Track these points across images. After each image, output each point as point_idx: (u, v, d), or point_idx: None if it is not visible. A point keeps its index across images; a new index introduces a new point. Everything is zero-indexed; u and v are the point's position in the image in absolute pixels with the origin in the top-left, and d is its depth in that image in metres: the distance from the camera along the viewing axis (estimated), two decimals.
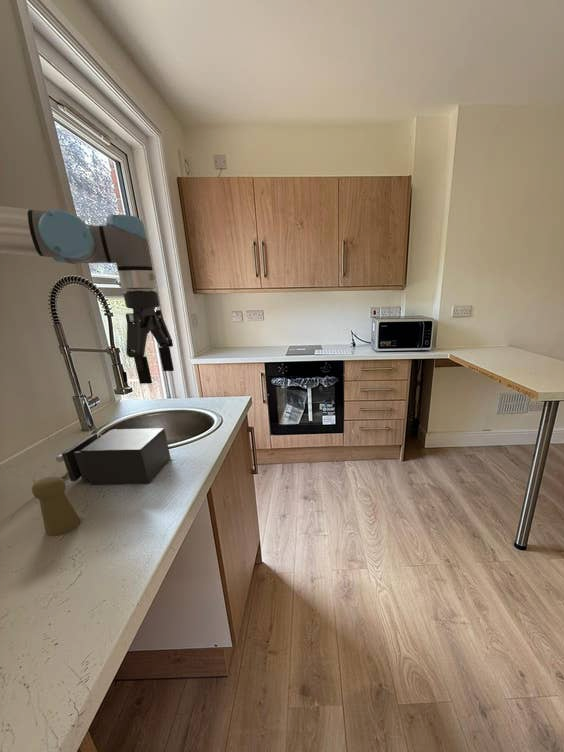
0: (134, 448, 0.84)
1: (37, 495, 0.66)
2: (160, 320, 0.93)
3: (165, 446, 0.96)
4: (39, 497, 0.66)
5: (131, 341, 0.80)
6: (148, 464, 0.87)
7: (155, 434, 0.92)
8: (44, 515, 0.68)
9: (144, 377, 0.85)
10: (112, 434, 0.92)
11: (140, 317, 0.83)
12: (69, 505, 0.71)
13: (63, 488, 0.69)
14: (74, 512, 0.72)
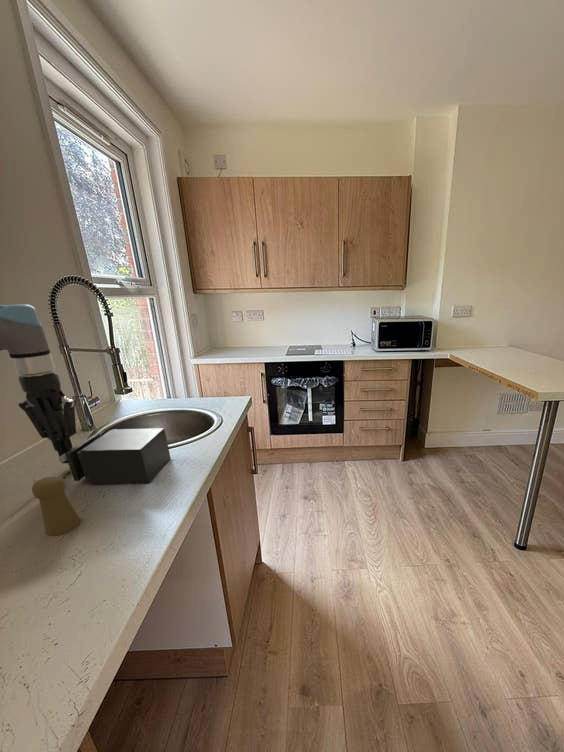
0: (134, 448, 0.84)
1: (37, 495, 0.66)
2: (35, 408, 0.87)
3: (165, 446, 0.96)
4: (39, 497, 0.66)
5: (72, 424, 0.88)
6: (148, 464, 0.87)
7: (155, 434, 0.92)
8: (44, 515, 0.68)
9: None
10: (112, 434, 0.92)
11: None
12: (69, 505, 0.71)
13: (63, 488, 0.69)
14: (74, 511, 0.72)
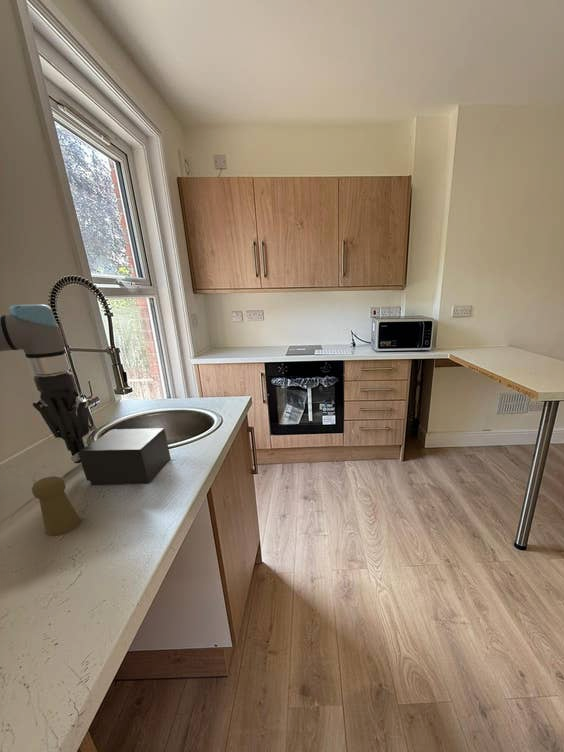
0: (134, 448, 0.84)
1: (37, 495, 0.66)
2: (49, 407, 0.87)
3: (165, 446, 0.96)
4: (39, 497, 0.66)
5: (85, 425, 0.88)
6: (148, 464, 0.87)
7: (155, 434, 0.92)
8: (44, 515, 0.68)
9: None
10: (112, 434, 0.92)
11: None
12: (69, 505, 0.71)
13: (63, 488, 0.69)
14: (74, 512, 0.72)
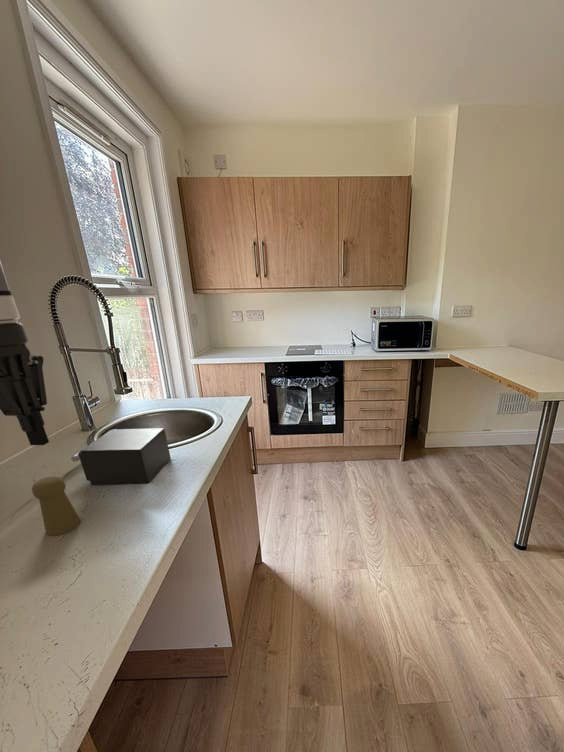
0: (134, 448, 0.84)
1: (37, 495, 0.66)
2: None
3: (165, 446, 0.96)
4: (39, 497, 0.66)
5: None
6: (148, 464, 0.87)
7: (155, 434, 0.92)
8: (44, 515, 0.68)
9: None
10: (112, 434, 0.92)
11: None
12: (69, 505, 0.71)
13: (63, 488, 0.69)
14: (74, 512, 0.72)
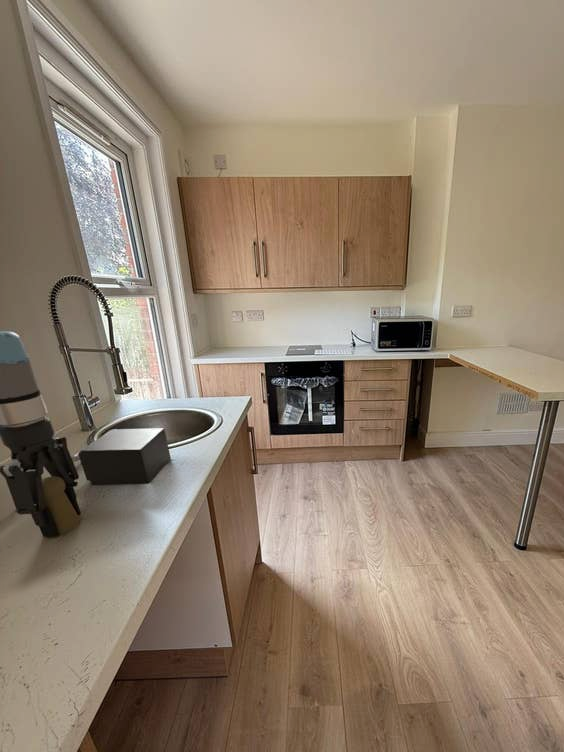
0: (134, 448, 0.84)
1: None
2: None
3: (165, 446, 0.96)
4: None
5: None
6: (148, 464, 0.87)
7: (155, 434, 0.92)
8: None
9: None
10: (112, 434, 0.92)
11: None
12: (69, 505, 0.71)
13: (63, 488, 0.69)
14: (74, 511, 0.72)
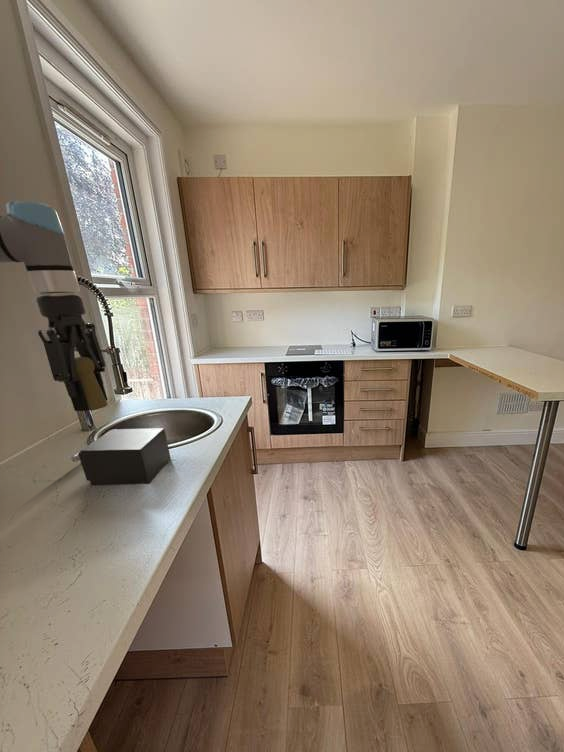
0: (134, 448, 0.84)
1: None
2: None
3: (165, 446, 0.96)
4: None
5: None
6: (148, 464, 0.87)
7: (155, 434, 0.92)
8: None
9: None
10: (112, 434, 0.92)
11: None
12: (98, 385, 0.77)
13: (93, 367, 0.75)
14: (102, 393, 0.78)
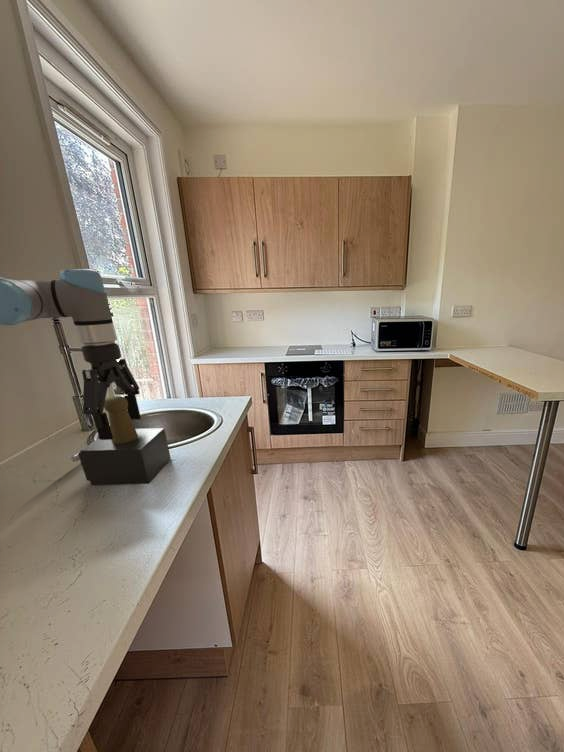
0: (134, 448, 0.84)
1: (109, 408, 0.84)
2: None
3: (165, 446, 0.96)
4: (110, 410, 0.84)
5: None
6: (148, 464, 0.87)
7: (155, 434, 0.92)
8: (112, 426, 0.86)
9: None
10: None
11: None
12: (130, 420, 0.88)
13: (127, 405, 0.86)
14: (133, 426, 0.89)
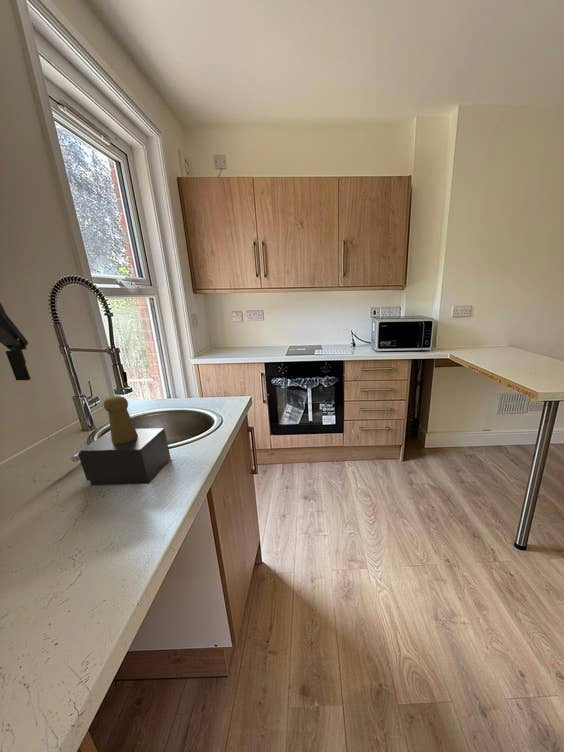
0: (134, 448, 0.84)
1: (109, 408, 0.84)
2: None
3: (165, 446, 0.96)
4: (110, 410, 0.84)
5: None
6: (148, 464, 0.87)
7: (155, 434, 0.92)
8: (112, 426, 0.86)
9: None
10: None
11: None
12: (130, 420, 0.88)
13: (127, 405, 0.86)
14: (133, 426, 0.89)
